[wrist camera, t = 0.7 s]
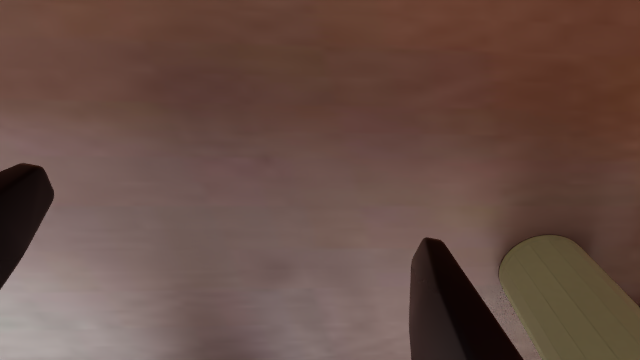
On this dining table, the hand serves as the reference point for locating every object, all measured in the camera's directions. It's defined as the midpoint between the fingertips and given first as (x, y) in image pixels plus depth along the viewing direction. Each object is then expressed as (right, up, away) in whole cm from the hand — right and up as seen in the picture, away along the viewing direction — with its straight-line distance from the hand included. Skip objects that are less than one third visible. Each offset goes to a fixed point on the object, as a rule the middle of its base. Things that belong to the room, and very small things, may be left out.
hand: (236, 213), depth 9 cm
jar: (+18, -6, +19) cm, 27 cm away
